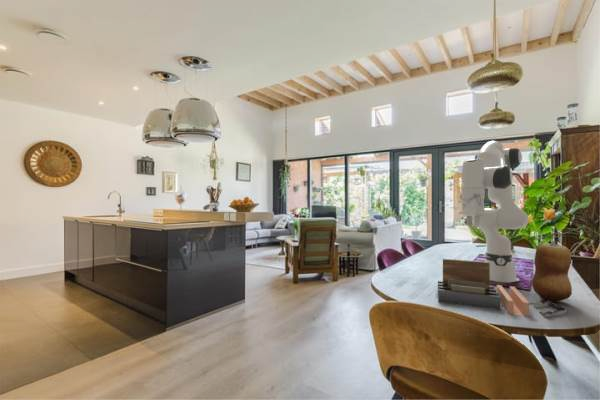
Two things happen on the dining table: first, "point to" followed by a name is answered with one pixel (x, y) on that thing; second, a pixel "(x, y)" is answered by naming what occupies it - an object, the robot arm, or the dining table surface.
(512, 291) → the holder
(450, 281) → the offcut
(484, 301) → the rack
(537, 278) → the butternut squash
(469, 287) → the offcut
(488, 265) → the tall sheet
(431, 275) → the dining table surface
